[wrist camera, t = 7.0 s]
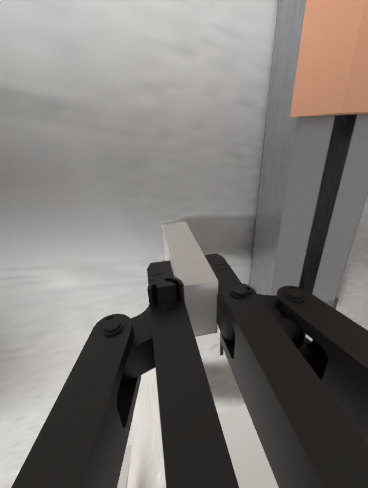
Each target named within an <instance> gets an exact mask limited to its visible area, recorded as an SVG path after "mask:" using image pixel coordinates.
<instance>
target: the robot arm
mask: <svg viewBox="0 0 368 488" xmlns="http://www.w3.org/2000/svg"><path fill="white" fill-rule="evenodd" d="M162 230H163V241H164V252H165V261H162V262H155V263H150V265H149V267H148V268H147V273H148V284H149V285H148V296H149V303H150V304H149V306H148V308H147V309H146V310H145V311H144V312H143V313H141V314H140V315H138V316H136V317H133V318H131V319H130V318H129V317H128V316H126V315H123V314H113V315H109V316H107V317H104V318H103V319H101V320H100V321H99V322H98V323H97V324H96V325H95V326H94V328H93V330H92V332H91V334H90V336H89V338H88V340H87V342H86V344H85V345H84V347H83V349H82V351H81V353H80V355H79V357H78V359H77V361H76V363H75V365H74V367H73V369H72V371H71V373H70V375H69V377H68V379H67V380H66V382H65V384H64V386H63V388H62V390H61V392H60V394H59V396H58V398H57V400H56V402H55V404H54V406H53V408H52V410H51V412H50V414H49V416H48V417H47V419H46V421H45V423H44V425H43V427H42V429H41V431H40V433H39V435H38V437H37V439H36V441H35V443H34V445H33V447H32V449H31V451H30V452H29V454H28V456H27V458H26V460H25V462H24V464H23V466H22V468H21V470H20V472H19V474H18V476H17V478H16V480H15V482H14V484H13V486H12V488H117V484H118V480H119V476H120V471H121V467H122V462H123V458H124V453H125V449H126V444H127V440H128V435H129V431H130V426H131V422H132V417H133V413H134V408H135V404H136V399H137V395H138V390H139V386H140V381H141V375H143V374H144V373H146V372H148V371H150V370H152V369H154V368H156V379H157V390H158V402H159V413H160V424H161V435H162V446H163V457H164V468H165V479H166V488H239V486H238V483H237V479H236V476H235V472H234V469H233V466H232V462H231V459H230V455H229V452H228V448H227V445H226V442H225V438H224V435H223V431H222V428H221V424H220V421H219V418H218V414H217V411H216V407H215V404H214V400H213V397H212V394H211V390H210V387H209V383H208V380H207V377H206V373H205V370H204V366H203V363H202V359H201V356H200V353H199V349H198V346H197V342H196V339H195V336H201V335H206V334H212V333H217V324H218V326H219V329H220V331H221V335H220V355H223V349H224V351H225V354H226V356H227V359H228V361H229V364H230V366H231V369H232V371H233V374H234V376H235V379H236V381H237V384H238V386H239V389H240V391H241V394H242V396H243V399H244V401H245V404H246V406H247V409H248V411H249V414H250V416H251V419H252V421H253V424H254V426H255V429H256V431H257V434H258V436H259V439H260V441H261V444H262V446H263V449H264V451H265V454H266V456H267V459H268V461H269V464H270V466H271V469H272V471H273V474H274V476H275V479H276V481H277V484H278V486H279V488H368V331H367V330H366V329H364V328H363V327H361V326H360V325H358V324H357V323H355V322H354V321H352V320H351V319H349V318H348V317H346V316H345V315H343V314H342V313H340V312H339V311H337V310H336V309H334V308H333V307H331V306H329V305H328V304H326V303H325V302H323V301H322V300H320V299H319V298H317V297H316V296H314V295H313V294H311V293H310V292H308V291H307V290H305V289H303V288H300V287H296V286H283V287H281V288H279V289H278V291H277V294H276V296H275V295H262V294H257V293H256V292H255V290H254V289H253V288H252V287H250V286H248V285H246V284H242V283H241V282H240V281H239V279H238V278H237V276H236V275H235V273H234V272H233V270H232V269H231V267H230V266H229V265H228V263H227V262H226V260H225V259H224V258H223V257H222V256H220V255H218V254H210V255H204V254H203V252H202V250H201V248H200V247H199V245H198V243H197V241H196V239H195V237H194V236H193V234H192V232H191V230H190V228H189V226H188V225H187V223H186V221H184V222H175V223H166V224H162ZM306 334H307V335H308V336H310V337H311V338H312V339H313V341H310V340H308V339H307V338H306V337H305V336H306Z"/></svg>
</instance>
